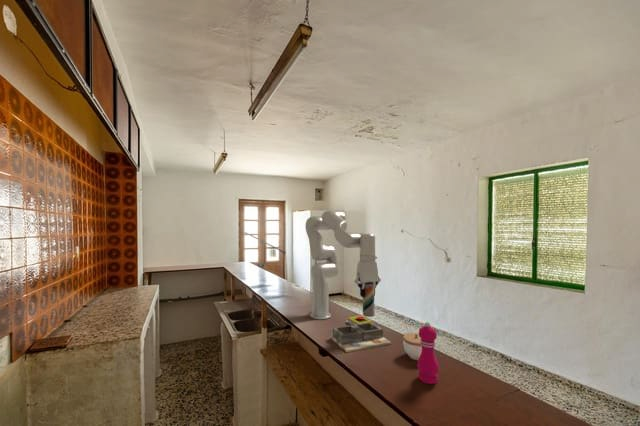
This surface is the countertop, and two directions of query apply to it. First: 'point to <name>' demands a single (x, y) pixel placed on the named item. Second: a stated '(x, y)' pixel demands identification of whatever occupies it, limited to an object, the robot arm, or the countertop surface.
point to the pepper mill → (428, 355)
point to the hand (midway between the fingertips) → (367, 295)
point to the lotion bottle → (369, 300)
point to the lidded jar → (412, 345)
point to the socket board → (359, 337)
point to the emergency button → (358, 320)
